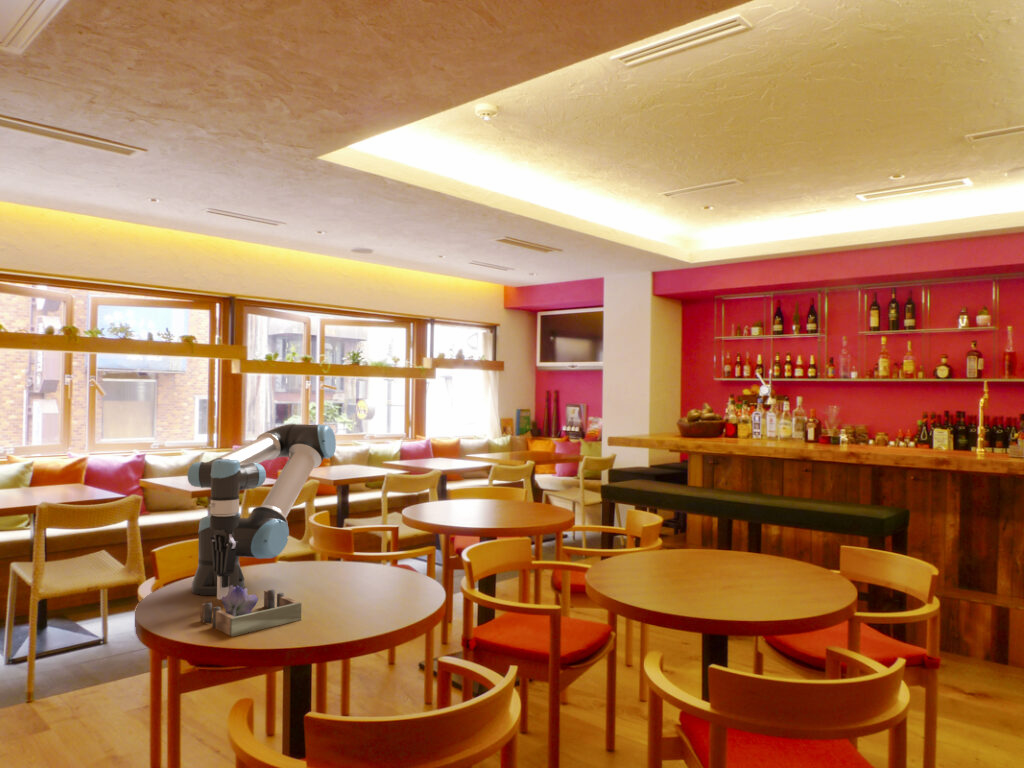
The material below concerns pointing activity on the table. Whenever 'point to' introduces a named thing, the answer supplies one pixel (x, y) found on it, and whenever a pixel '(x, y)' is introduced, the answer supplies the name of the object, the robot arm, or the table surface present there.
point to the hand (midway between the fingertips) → (222, 598)
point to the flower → (238, 601)
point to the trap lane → (254, 615)
